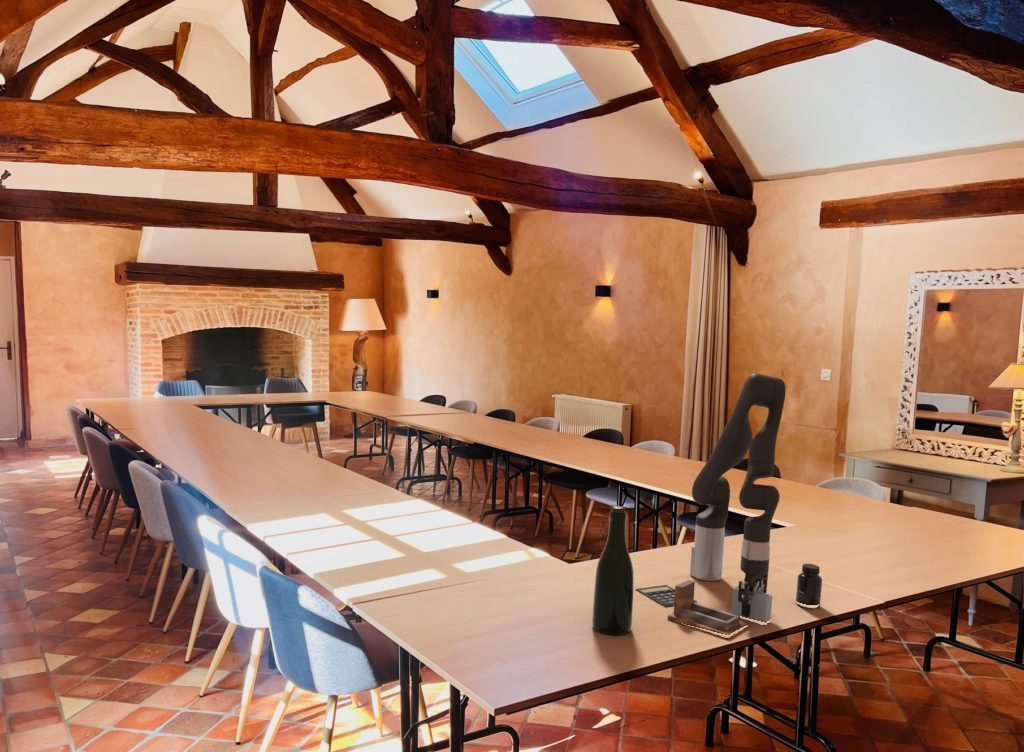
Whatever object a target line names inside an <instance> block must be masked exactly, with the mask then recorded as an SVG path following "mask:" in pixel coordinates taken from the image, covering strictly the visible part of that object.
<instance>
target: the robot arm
mask: <svg viewBox="0 0 1024 752" xmlns="http://www.w3.org/2000/svg"><path fill="white" fill-rule="evenodd" d="M786 392H787V390H786V382H785V381H784V380H783V379H781V378H779V377H775V376H771V375H766V374H762V373H756V372H755V373H751V374H749V375H748V377H747V379H745V381H744V384H743V387H742V388H741V390H740V394H739V397H738V399H737V402H736V403H735V406H734V407H733V411H732V413H731V415H730V417H729V419H728V421H727V423H726V425H725V426H724V429H723V430H722V432H721V434H720V436H719V438H718V440H717V442H716V445H715V446H714V448H713V451H712V453H711V454H710V456H709V458H708V459H707V460H706V463H705V465H704V466H703V468H702V469H701V470H700V472H699V473H698V475H697V476H696V478H695V479H694V482H693V484H692V487H691V489H692V490H691V495H692V496H691V497H692V499H693V501H694V502H695V503H696V504H698V505H702V506H708V507H707V508H706V509H705V510H703V511H702V512H700V513H698V514H696V516H695V528H694V529H695V532H694V545H692V546H691V549H690V550H691V552H690V568H689V569H690V570H689V576H692V577H693V578H695V579H697V580H700V581H706V582H719V581H721V580H722V574H723V561H724V547H725V546H724V544H725V531H726V530H725V529H726V528H725V527H726V522H727V519H728V516H729V507H730V498H731V486H730V482H729V481H728V479H727V478H726V477H725V476H723V475H724V474H726V473H727V472H728V471H730V470H731V469H733V468H734V467H735V466H737V465H738V464H740V462H742V461H743V459H744V458H745V457H746V455H747V453H748V461H747V463H748V464H747V470H746V471H747V472H746V475H745V478H744V481H743V484H742V486H741V489H740V491H739V495H738V500H739V504H740V506H741V507H742V508H743V509H750V510H757V511H764V512H763V513H762V514H761V515H756V516H749V517H746V518H745V519H744V523H743V539H742V542H741V543H742V544H741V552H740V553H741V554H740V555H741V556H740V567H739V568H740V571H741V572H743V573H744V574H745V575H744V579H743V580H739V581H738V586H739V590H738V602H742V611H741V615H742V616H744V617H749V616H750V607H751V604H750V603H751V600H752V597H754V596H755V593H756V591H759V592H762V593H766V594H767V591H768V590H767V588H768V580H769V579H768V578H769V568H770V566H769V565H770V554H771V546H770V545H771V544H770V538H771V526H772V522H773V519H774V515H775V512H776V510H777V508H778V506H779V502H780V499H781V497H780V492H779V490H778V489H777V487H775V485H774V486H773V485H769V484H768V485H767V484H766V485H765V484H761V483H759V484H758V483H755V482H756V481H757V480H760V479H767V478H771V477H773V475H774V474H775V473H774V472H775V457H776V447H777V446H776V445H777V438H778V433H779V429H780V426H781V425H780V424H781V419H782V414H783V409H784V405H785V399H786ZM753 406H757V407H762V408H766V409H767V410H768V411H767V417H766V419H765V420H766V421H764V423H763V424H762V425H763V426H762V427H761V428H760V429H759V431H758V432H757V433H756V435H754V436H753V431H752V427H751V424H750V418H749V416H750V415H749V413H750V411H751V408H752V407H753ZM718 580H719V581H718ZM750 592H751V593H750ZM748 596H749V598H748Z"/></svg>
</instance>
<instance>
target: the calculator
mask: <svg viewBox="0 0 1024 752" xmlns="http://www.w3.org/2000/svg"><path fill="white" fill-rule="evenodd" d="M635 591H636V592H638V593H639V594H642V595H644V597H646V598H649V599H650V600H652V601H653V602H655V603H657V604H659V605H661V606H662V607H664V608H671V607H674V599H675V588H673V587H671V586H669V585H667V584H662V585H655V586H648V587H640V588H635ZM694 602H698V601H697V600H696V599H694Z"/></svg>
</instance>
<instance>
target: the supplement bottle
mask: <svg viewBox="0 0 1024 752" xmlns="http://www.w3.org/2000/svg"><path fill="white" fill-rule="evenodd" d="M820 570H821V568H820V566H819V565H817V564H813V563H803V564H802V566H801V572H800V573H799V574H798V575H797V582H796V585H797V586H796V594H795V595H796V596H795V602H796V601H797V602H799V603H802V604H806V605H818V604H820V605H821V598H822V588H823V579H822V577H821V575H820Z"/></svg>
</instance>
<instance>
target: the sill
mask: <svg viewBox="0 0 1024 752" xmlns="http://www.w3.org/2000/svg"><path fill="white" fill-rule="evenodd" d="M695 583H696V581H694V580H691V579H687V580H684V581H682V582H681V583H679V584H678V583H677V584H676V585H675V587H674V589H675V599H674V606H673V612H672V613H669V614H668V615H667V620H669V621H671V622H674V621H675V622H674V623H677V622H679V623H678V624H680V623H683V624H686V625H690V626H694V627H698V628H702V629H706V630H710V631H713V632H717V633H721V634H725V635H730V634H731V633H733V632H735V631H736V630H739V629H740V628H742V627H744V626H746V625H748V626H749V622H748V621H745V620H742V619H740V616H737V615H734V614H731V612H728V611H723V610H720V609H717V608H714V607H712V606H707V605H704V604H701V603H695V602H694V600H695V599H694V598H695V585H696V584H695ZM683 624H682V625H683ZM686 625H685V626H686Z"/></svg>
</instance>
